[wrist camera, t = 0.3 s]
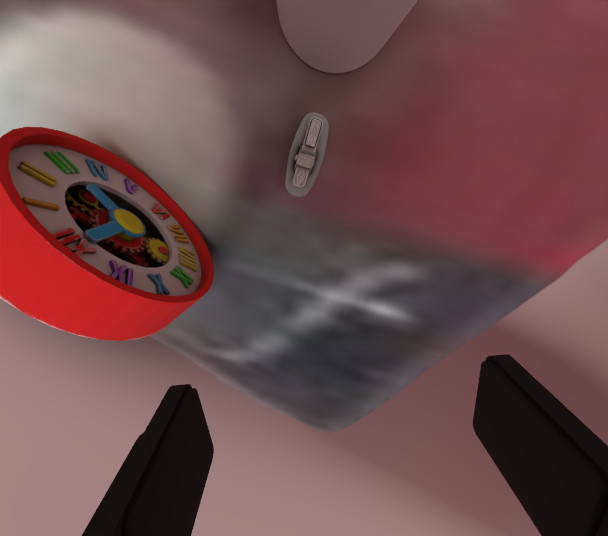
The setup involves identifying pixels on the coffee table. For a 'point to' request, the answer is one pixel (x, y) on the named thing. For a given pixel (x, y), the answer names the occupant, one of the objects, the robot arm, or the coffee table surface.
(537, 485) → the robot arm
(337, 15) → the cylinder vase
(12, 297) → the toy clock
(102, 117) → the coffee table surface
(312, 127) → the lighter
